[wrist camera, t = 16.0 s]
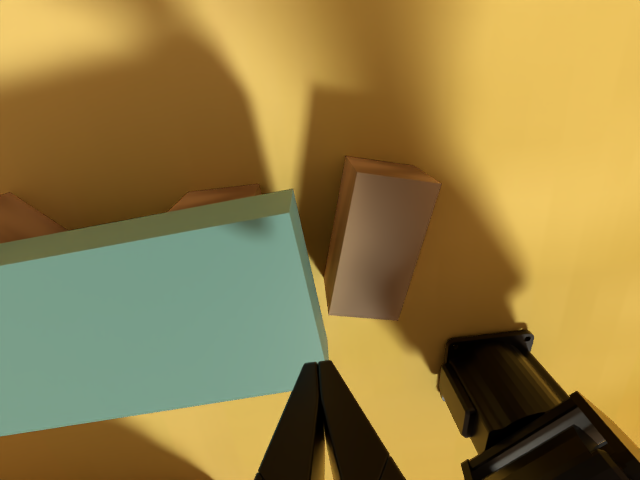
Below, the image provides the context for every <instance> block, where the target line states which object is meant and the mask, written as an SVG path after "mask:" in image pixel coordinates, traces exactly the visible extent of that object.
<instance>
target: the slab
mask: <svg viewBox="0 0 640 480" xmlns="http://www.w3.org/2000/svg"><path fill="white" fill-rule="evenodd" d="M325 360H329V357H328V344H327V337H326V332H325V328H324V324H323V319H322V315H321V310H320V306H319V302H318V297H317V293H316V288H315V284H314V280H313V275H312V271H311V266H310V262H309V257H308V253H307V249H306V244H305V240H304V235H303V231H302V227H301V222H300V218H299V213H298V209H297V204H296V200H295V196H294V191H293V189H289V190H283V191H278V192H273V193H267V194H262V195H257V196H251V197H246V198H241V199H235V200H230V201H225V202H219V203H214V204H209V205H203V206H198V207H193V208H187V209H182V210H177V211H171V212H166V213H161V214H155V215H150V216H145V217H139V218H134V219H129V220H123V221H118V222H113V223H107V224H102V225H97V226H91V227H86V228H81V229H75V230H70V231H65V232H59V233H54V234H49V235H43V236H38V237H33V238H27V239H22V240H17V241H11V242H6V243H1V244H0V436H6V435H13V434H19V433H26V432H32V431H38V430H45V429H51V428H58V427H64V426H70V425H77V424H83V423H90V422H96V421H103V420H109V419H115V418H122V417H128V416H135V415H141V414H147V413H154V412H160V411H167V410H173V409H179V408H186V407H192V406H199V405H205V404H212V403H218V402H224V401H231V400H237V399H244V398H250V397H256V396H263V395H269V394H276V393H282V392H288V391H292V390H293V388H294V385H295V383H296V381H297V378H298V376H299V374H300V371H301V369H302V367H303V365H304V363H308V362H317V363H318V362H319V361H325Z"/></svg>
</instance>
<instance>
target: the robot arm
mask: <svg viewBox="0 0 640 480" xmlns="http://www.w3.org/2000/svg"><path fill="white" fill-rule="evenodd" d="M533 340H534V336H533V334H532V333H531V332H530V331H528V330H522V331H513V332H504V333H496V334H487V335H478V336H469V337H460V338H452V339H450V340H448V341H447V343H446V348H445V357H444V363H443V365H442V366H441V374H440V383H439V389H440V395H441V398H442V400H443V401H445V402H446V404H447V406H448V408H449V410H450V412H451V414H452V417H453V419H454V421H455V423H456V425H457V427H458V429H459V431H460V433H461V435H462V436H463V437H465V438H468V437H470V438H471V440H472V442H473V444H474V447H475V449H476V451H477V453H478V455H477V456H475V457H474V458H472V459H470V460H469V459H467V460H465V461H464V462H462V463H461V467H462V471H463V474H464V480H640V449H639V448H638V447H637V446H636V445H635V444H634V443H633V442H632V441H631V439H630V438H629V437H628V436H627V435H626V434H625V433H624V432H623V431H622V430H621V429H620V428H619V427H618V426H617V425H616V424H615V423H614V422H613V421H612V420H611V419H610V418H608V417H607V416H606V415H605V414H604V413H603V412H601V411H600V410H599V409H598V408H597V407H596V406H594V405H593V404H592V403H591V402H590V401H589V400H588V399H586V398H585V397H584V396H583V395H582V394H581V393H579V392H578V391H575V392H574V393H572V394H571V395H569V396H570V397H569V396H568V395H567V393H566V392H565V391H564V390H563V389H562V388H561V387H560V385H559V384H558V383H557V382H556V381H555V380H554V379H553V378H552V376H551V375H550V374H549V373H548V372H547V371H546V370H545V368H544V367H543V366H542V365H541V364H540V363H539V362H538V361H537V359H536V358H535V357H534V356H533V355H532V354H531V353H530V351H531V347H532V344H533ZM453 345H454V346H453ZM324 431H325V433H324ZM325 438H326V444H327V450H328V455H329V460H330V464H331V469H332V474H333V479H334V480H406V479H405V477H404V476H403V474H402V473H401V471H400V470H399V468H398V467H397V465H396V463H395V462H394V460H393V459H392V457H391V456H390V455H389V452H388V451H387V449H386V448H385V446H384V444H383V443H382V441H381V440H380V438H379V436H378V435H377V433H376V432H375V430H374V428H373V427H372V425H371V424H370V422H369V420H368V419H367V417H366V415H365V414H364V412H363V411H362V409H361V407H360V406H359V404H358V403H357V401H356V399H355V398H354V396H353V395H352V393H351V391H350V390H349V388H348V387H347V385H346V383H345V382H344V380H343V379H342V377H341V375H340V374H339V372H338V371H337V369H336V367H335V366H334V364H333V363H332V361H331V360H325V361H319V362H318V363H317V362H308V363H304V365H303V367H302V369H301V371H300V374H299V376H298V378H297V381H296V383H295V385H294V388H293V390H292V392H291V395H290V397H289V399H288V402H287V404H286V406H285V409H284V411H283V413H282V416H281V418H280V420H279V423H278V425H277V427H276V430H275V432H274V434H273V437H272V439H271V441H270V444H269V446H268V448H267V451H266V453H265V455H264V458H263V460H262V462H261V465H260V467H259V469H258V472H259V473H257V474H256V476H255V478H254V480H324V471H325ZM605 440H606V441H605ZM603 441H604V442H603ZM600 443H601V444H600ZM598 444H599V445H598Z"/></svg>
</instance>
